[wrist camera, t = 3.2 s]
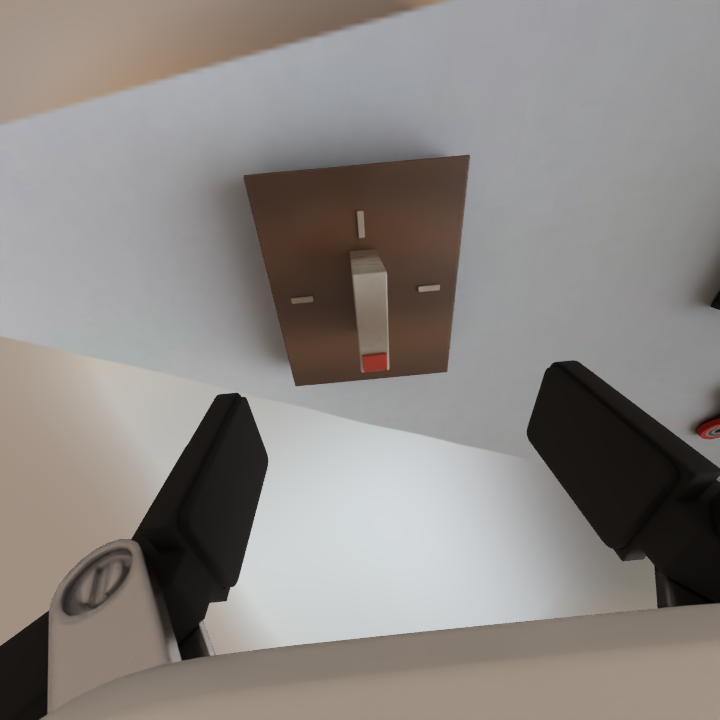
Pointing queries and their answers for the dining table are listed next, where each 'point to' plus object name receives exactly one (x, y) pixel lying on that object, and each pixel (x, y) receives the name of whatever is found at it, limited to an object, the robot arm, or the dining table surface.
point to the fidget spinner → (710, 429)
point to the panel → (353, 233)
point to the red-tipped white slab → (370, 309)
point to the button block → (716, 302)
